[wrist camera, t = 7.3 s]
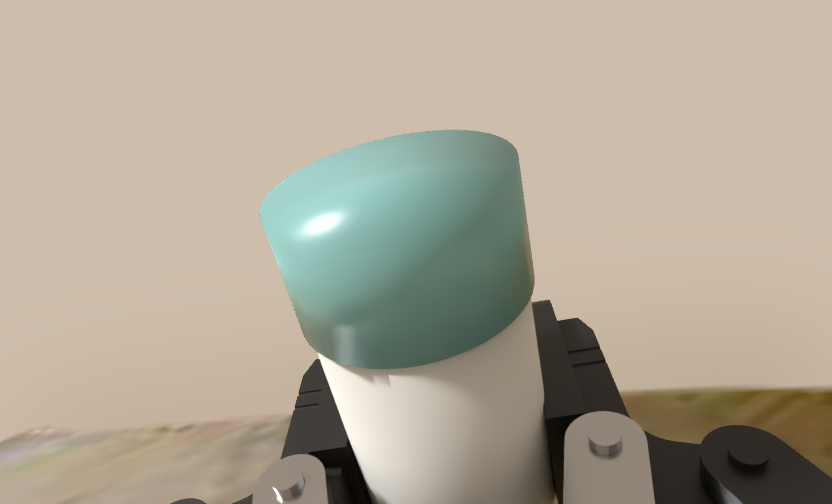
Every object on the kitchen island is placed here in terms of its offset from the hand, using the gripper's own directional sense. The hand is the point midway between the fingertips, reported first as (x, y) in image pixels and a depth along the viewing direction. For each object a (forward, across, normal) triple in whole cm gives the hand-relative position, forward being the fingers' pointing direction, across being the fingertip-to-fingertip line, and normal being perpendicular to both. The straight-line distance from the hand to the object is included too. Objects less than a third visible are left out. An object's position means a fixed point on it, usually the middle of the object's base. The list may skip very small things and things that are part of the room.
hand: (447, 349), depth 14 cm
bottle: (-3, 0, +6) cm, 7 cm away
